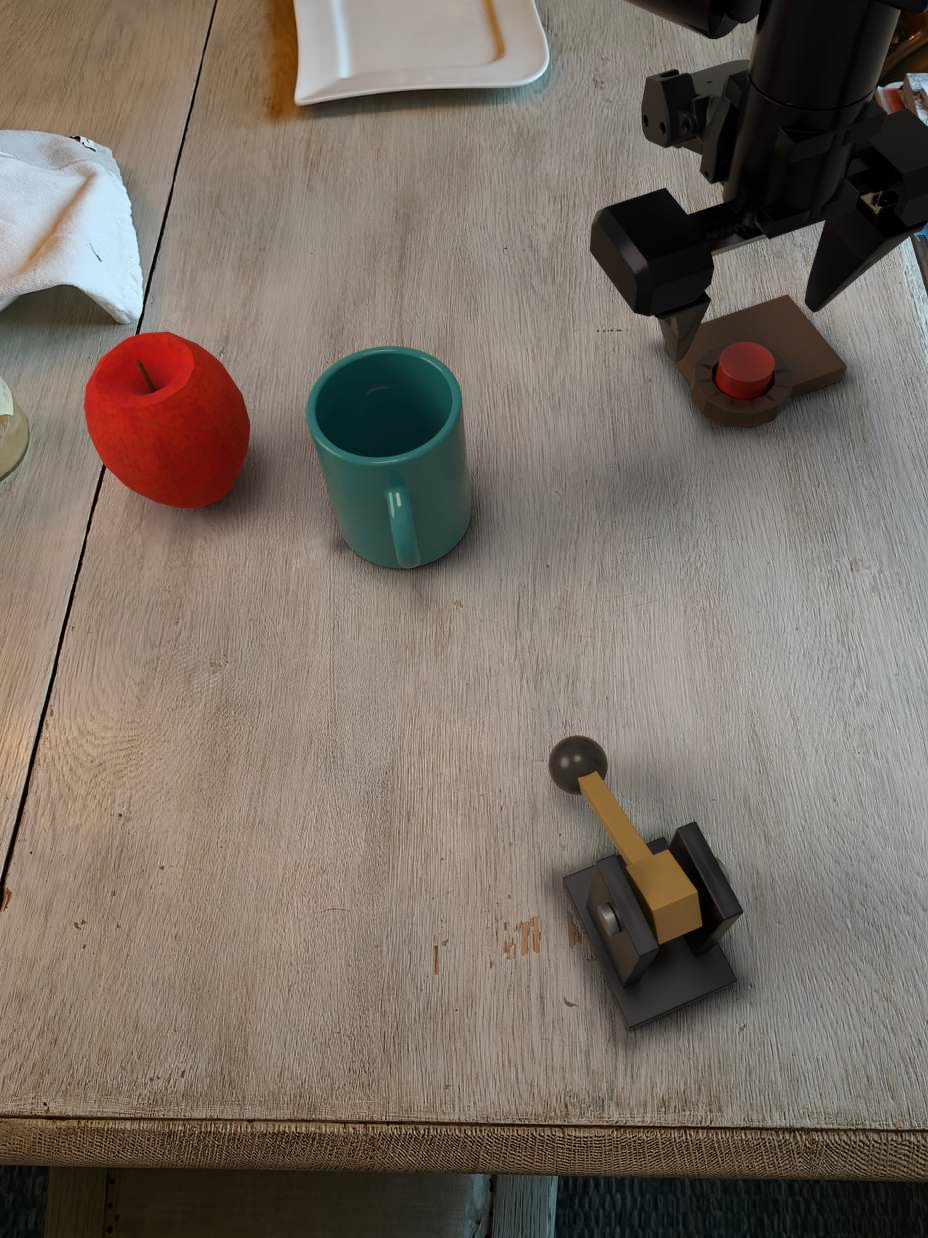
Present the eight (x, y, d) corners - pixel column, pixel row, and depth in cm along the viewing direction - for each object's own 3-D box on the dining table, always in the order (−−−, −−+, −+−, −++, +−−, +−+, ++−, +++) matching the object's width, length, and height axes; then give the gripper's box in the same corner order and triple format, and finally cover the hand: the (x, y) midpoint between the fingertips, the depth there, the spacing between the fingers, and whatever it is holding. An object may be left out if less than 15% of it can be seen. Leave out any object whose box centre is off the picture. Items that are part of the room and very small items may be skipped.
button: (752, 353, 66) (757, 335, 65) (779, 389, 65) (785, 370, 63) (705, 370, 66) (709, 351, 64) (731, 406, 64) (736, 387, 63)
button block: (783, 308, 72) (793, 276, 69) (859, 402, 67) (873, 371, 64) (648, 354, 70) (652, 323, 68) (716, 453, 66) (723, 424, 63)
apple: (117, 455, 69) (42, 327, 58) (248, 411, 70) (197, 277, 59) (147, 561, 64) (71, 443, 53) (287, 511, 65) (239, 386, 55)
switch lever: (545, 779, 54) (535, 736, 52) (597, 758, 54) (588, 715, 52) (650, 955, 43) (641, 909, 41) (713, 928, 43) (707, 880, 42)
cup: (348, 621, 61) (314, 519, 51) (334, 474, 67) (300, 356, 57) (489, 599, 61) (481, 493, 51) (462, 454, 67) (450, 334, 57)
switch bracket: (561, 883, 52) (568, 829, 43) (661, 842, 53) (687, 780, 44) (627, 1031, 48) (648, 1004, 40) (733, 984, 49) (776, 948, 40)
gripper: (885, -64, 48) (806, 204, 62) (548, 36, 46) (543, 293, 59) (1031, 50, 43) (909, 316, 57) (659, 171, 40) (625, 419, 54)
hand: (743, 331), depth 57 cm, fingers open, 9 cm apart
